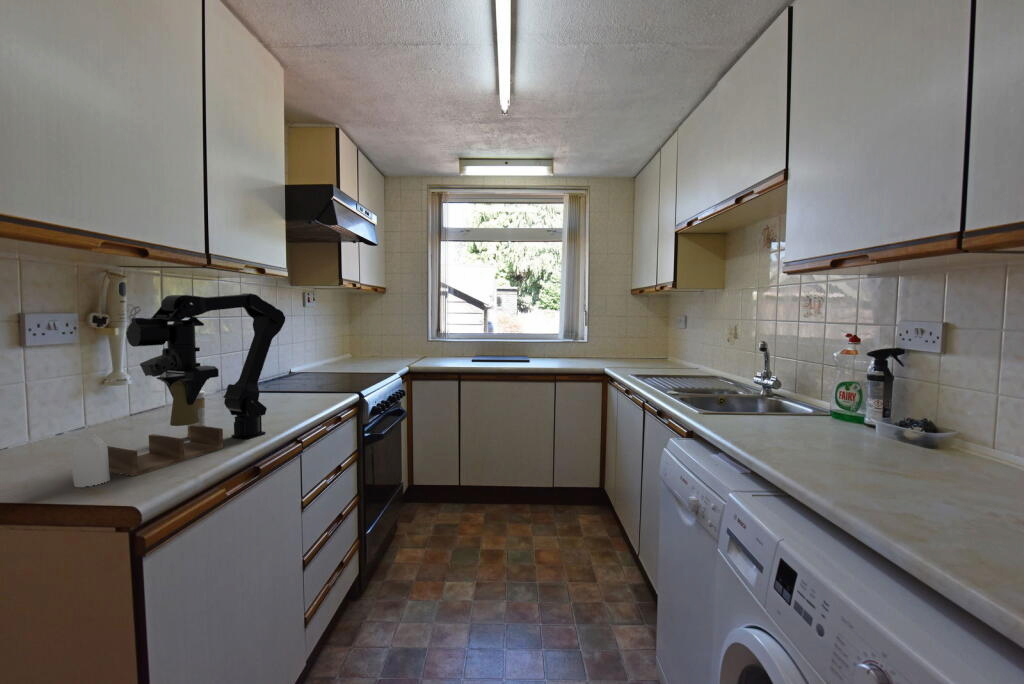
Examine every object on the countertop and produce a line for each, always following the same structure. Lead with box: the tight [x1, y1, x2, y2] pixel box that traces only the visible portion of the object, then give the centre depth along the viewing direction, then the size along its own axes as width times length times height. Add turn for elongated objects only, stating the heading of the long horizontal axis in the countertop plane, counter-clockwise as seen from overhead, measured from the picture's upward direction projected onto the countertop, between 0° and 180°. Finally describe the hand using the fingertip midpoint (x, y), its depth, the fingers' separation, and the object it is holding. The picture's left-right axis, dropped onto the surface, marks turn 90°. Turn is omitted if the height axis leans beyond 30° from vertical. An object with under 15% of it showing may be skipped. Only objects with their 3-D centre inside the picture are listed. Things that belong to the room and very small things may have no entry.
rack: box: [107, 425, 224, 477], centre depth 106 cm, size 21×11×6 cm, turn 162°
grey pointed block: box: [70, 427, 111, 488], centre depth 90 cm, size 6×12×6 cm
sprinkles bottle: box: [186, 389, 207, 439], centre depth 125 cm, size 5×5×13 cm
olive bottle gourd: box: [169, 381, 199, 427], centre depth 110 cm, size 6×6×11 cm
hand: (184, 403), depth 110 cm, fingers closed on olive bottle gourd, 5 cm apart
